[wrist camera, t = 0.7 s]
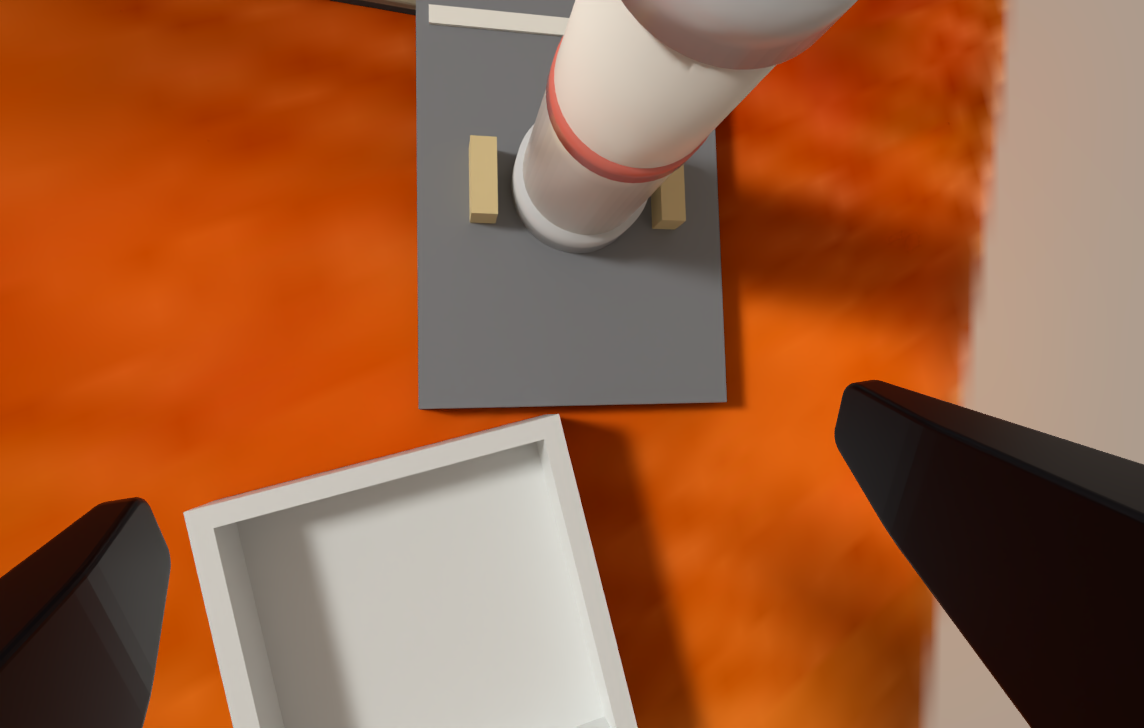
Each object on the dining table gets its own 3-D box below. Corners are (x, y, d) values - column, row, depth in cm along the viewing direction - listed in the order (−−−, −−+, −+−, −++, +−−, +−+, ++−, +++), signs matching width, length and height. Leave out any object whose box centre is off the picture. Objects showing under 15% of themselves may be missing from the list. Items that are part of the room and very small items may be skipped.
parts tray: (621, 719, 21) (645, 758, 19) (295, 841, 19) (274, 903, 17) (545, 414, 22) (558, 414, 19) (215, 500, 19) (183, 512, 17)
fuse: (659, 215, 22) (965, -65, 9) (555, 276, 21) (734, 63, 8) (594, 106, 22) (813, -331, 9) (485, 163, 21) (559, -230, 8)
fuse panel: (714, 402, 23) (740, 401, 21) (419, 409, 21) (417, 408, 19) (698, 18, 24) (721, -18, 22) (416, -12, 22) (414, -54, 20)
